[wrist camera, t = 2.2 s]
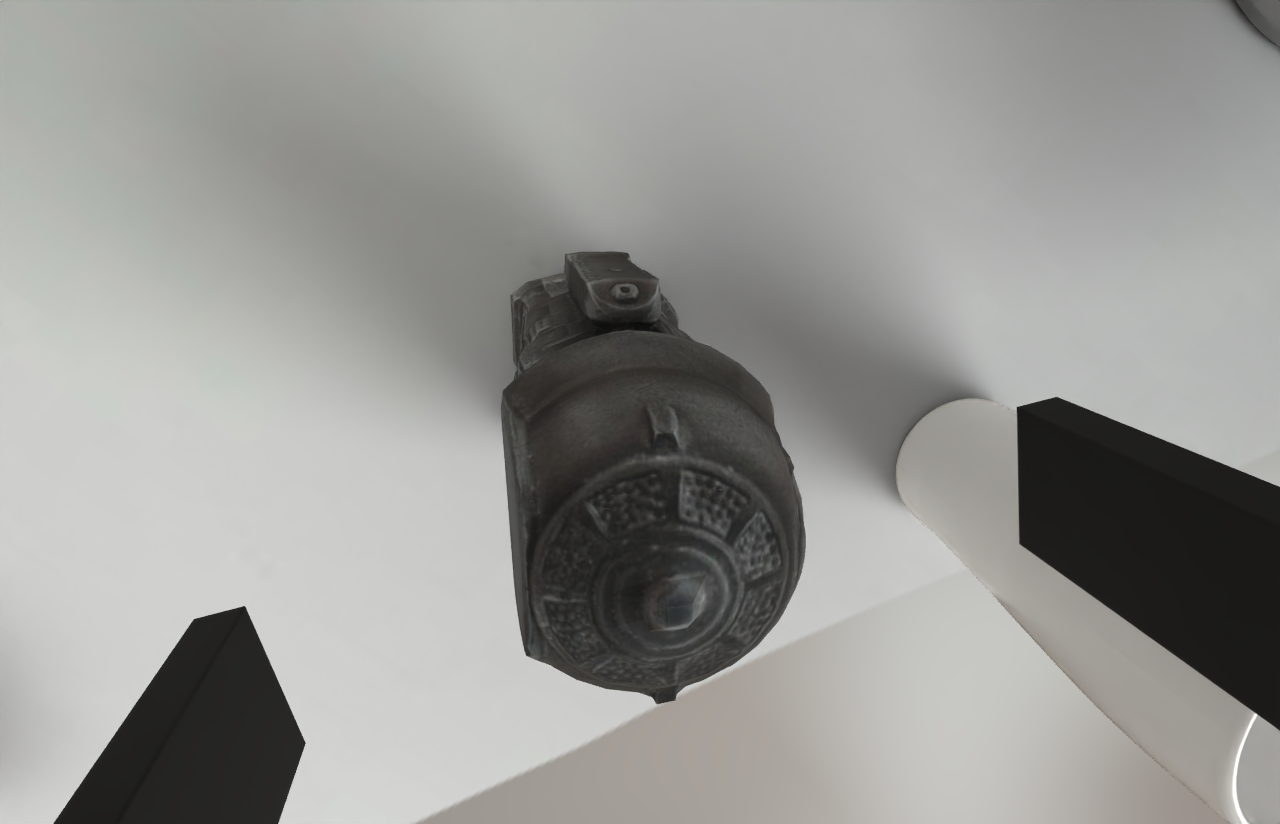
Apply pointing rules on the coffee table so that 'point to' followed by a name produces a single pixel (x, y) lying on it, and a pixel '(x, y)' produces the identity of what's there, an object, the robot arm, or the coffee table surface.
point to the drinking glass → (1083, 617)
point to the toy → (640, 487)
